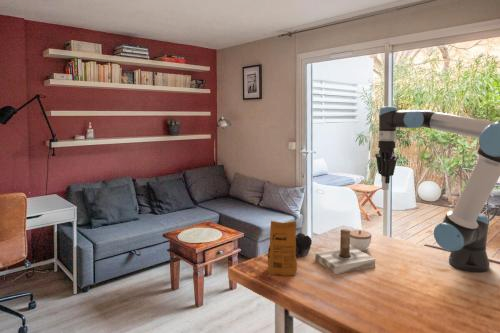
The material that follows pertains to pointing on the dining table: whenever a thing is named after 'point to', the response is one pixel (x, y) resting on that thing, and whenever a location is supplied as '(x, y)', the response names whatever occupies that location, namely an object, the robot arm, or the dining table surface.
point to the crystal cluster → (302, 244)
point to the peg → (345, 243)
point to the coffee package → (282, 249)
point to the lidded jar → (360, 239)
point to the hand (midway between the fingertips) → (385, 189)
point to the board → (344, 260)
